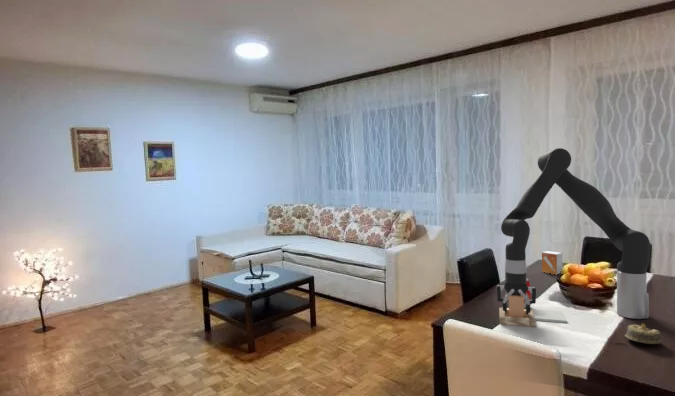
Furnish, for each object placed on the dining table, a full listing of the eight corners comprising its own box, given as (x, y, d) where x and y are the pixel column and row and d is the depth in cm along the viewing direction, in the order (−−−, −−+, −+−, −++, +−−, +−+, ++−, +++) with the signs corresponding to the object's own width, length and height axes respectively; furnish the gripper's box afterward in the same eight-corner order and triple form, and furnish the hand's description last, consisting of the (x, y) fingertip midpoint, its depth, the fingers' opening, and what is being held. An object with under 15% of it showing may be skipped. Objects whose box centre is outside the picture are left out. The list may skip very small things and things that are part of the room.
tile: (562, 313, 161) (562, 311, 161) (567, 322, 151) (567, 320, 150) (531, 310, 165) (531, 308, 165) (534, 320, 154) (534, 318, 154)
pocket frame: (532, 316, 159) (531, 309, 159) (535, 327, 148) (535, 320, 147) (499, 313, 163) (499, 307, 163) (500, 324, 152) (500, 317, 152)
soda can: (532, 309, 166) (532, 281, 165) (514, 309, 167) (514, 280, 167) (528, 304, 173) (527, 276, 172) (510, 303, 174) (510, 276, 174)
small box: (541, 276, 217) (541, 252, 217) (547, 274, 221) (547, 250, 220) (557, 278, 211) (556, 254, 210) (562, 276, 214) (562, 252, 214)
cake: (656, 349, 127) (656, 332, 127) (620, 339, 135) (620, 323, 135) (666, 340, 133) (666, 324, 133) (631, 331, 141) (631, 316, 141)
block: (523, 318, 157) (522, 293, 156) (524, 323, 152) (523, 297, 152) (509, 317, 158) (508, 292, 158) (509, 321, 154) (509, 296, 153)
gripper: (535, 269, 155) (535, 311, 156) (495, 267, 160) (496, 308, 161) (537, 273, 148) (538, 317, 149) (495, 272, 153) (496, 314, 154)
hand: (516, 312), depth 155 cm, fingers open, 7 cm apart
